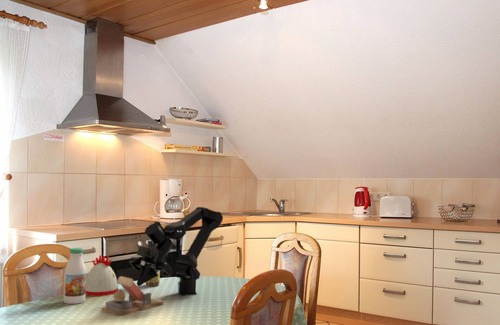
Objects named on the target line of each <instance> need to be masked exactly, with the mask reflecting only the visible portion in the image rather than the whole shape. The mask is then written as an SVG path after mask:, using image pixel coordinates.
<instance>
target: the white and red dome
mask: <svg viewBox="0 0 500 325" xmlns="http://www.w3.org/2000/svg"><path fill="white" fill-rule="evenodd" d="M112 260H113V259H109V256H108V255H107V256H106V257H105V255H101V254H100V255H99V256H98V257H95V260H94V259H92V264H93V266H92V267H91V269H90V270H89V271H88V273H86V292H85V294H86V295H85V296H89V295H93V297H102V295H105V296H110V295H111V294H112V295H114V294H115V292H116V291H119V284H118V278H117V276H116V274H115V272H114V269H112V267H111V266H110V265H111V263H112ZM112 295H111V296H112Z"/></svg>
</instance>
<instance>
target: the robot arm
mask: <svg viewBox="0 0 500 325" xmlns="http://www.w3.org/2000/svg"><path fill="white" fill-rule="evenodd" d="M223 218H224V217H223V215H222V212H220V211H216V210H211V209H209V208H208V207H205V206H198V207H195V209H194V210H192V211H191V212H189V213H188V214H187V215H185V216H184V217H183V218H182V219H180V220H178V221H175V222H171V223H168V224H166V225H165V227H163V226H162V224H161V223H160V221H154V223H151V224H150V225H148V226H146V228H145V229H144V234H145V236H147V237H148V240H151V241H152V243H153V244H157V245H156V246H155V247H150V248H148V246H139V247H138V249H137V251H136V255H137V256H141V257H142V258H141V257H137V256H132V257H131V258H130V259H129V261H128V263H129V264H130V265H131V266H132V268H133V269H134V270H136V271H137V272H139V274H138V278H137V281H136V285H137V287H141V286H142V285H144V284H146V282H147V281H149V280H151V279H152V278H154V277H156V276H157V277H158V273H159V271H160V272H163V276H164V277H167V278H170V277H171V276H172V274H173V268H172V267H171V266H170V265H169V263H168V262H166V261H167V260H168V258H167V256H168V254H169V253H170V252H171V250H174V251H176V250H177V245H176V242H174V241H181V240H182V239H183V237H184V236H185V235H186V234H187V230H188V229H190V228H191V227H193V226H194V225H196V224H197V223H199V221H200V220H201V227H200V229H199V231H198V232H197V233H196V234H197V235H196V236H195V238H194V240H193V241H192V243H191V245H189V246H190V247H189V249H188V251H187V252H186V253H185V254H182V253H180V254H179V256H178V258H177V259H176V261H175V264H174V271H175V276H176V278H178V279H179V281H178V284H177V285H178V286H177V288H178V289H177V291H178V293H179V294H180V295H181V296H189V295H197V294H198V293H197V292H196V291H197V289H196V288H197V281H198V279H200V277H201V273H200V271H199V270H198V269H197V268H198V257H199V256H200V254H201V252H202V251H203V249H204V247H205V244H206V243H207V241H208V239H209V237H210V236H211V234H212V232H213V231H215V230H217V229H218V228H219V227H220V225H221V224H222V222H223V220H224V219H223Z"/></svg>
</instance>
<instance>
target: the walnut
mask: <svg viewBox="0 0 500 325" xmlns="http://www.w3.org/2000/svg"><path fill="white" fill-rule="evenodd" d="M125 298H126V293H125V291H123V290H121V289H120V290H119V289H118V291H116V292H115V294H113V300H115V301H116V302H122V301H123V300H126V299H125Z"/></svg>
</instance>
